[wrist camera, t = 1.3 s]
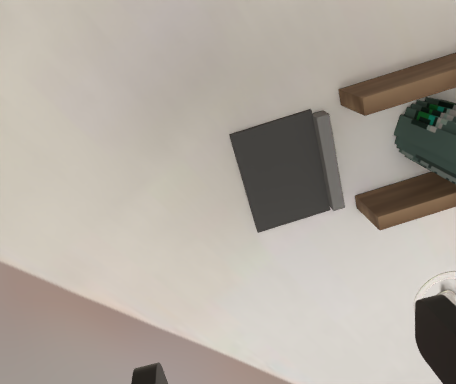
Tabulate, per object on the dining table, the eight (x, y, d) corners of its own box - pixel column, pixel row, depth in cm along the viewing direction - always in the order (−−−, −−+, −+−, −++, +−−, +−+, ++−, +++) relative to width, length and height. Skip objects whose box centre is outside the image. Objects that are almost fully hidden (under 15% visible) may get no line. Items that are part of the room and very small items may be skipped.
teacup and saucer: (462, 321, 50) (485, 345, 46) (405, 328, 49) (424, 352, 45) (478, 266, 47) (504, 287, 43) (418, 272, 46) (439, 293, 42)
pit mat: (229, 134, 36) (231, 139, 34) (322, 105, 36) (328, 108, 34) (257, 230, 40) (260, 238, 39) (339, 205, 40) (345, 211, 39)
